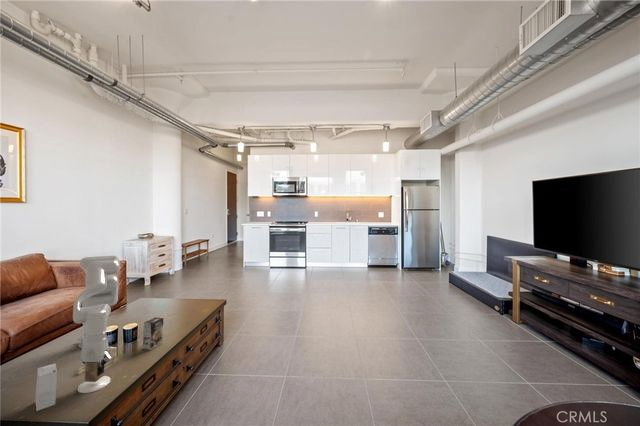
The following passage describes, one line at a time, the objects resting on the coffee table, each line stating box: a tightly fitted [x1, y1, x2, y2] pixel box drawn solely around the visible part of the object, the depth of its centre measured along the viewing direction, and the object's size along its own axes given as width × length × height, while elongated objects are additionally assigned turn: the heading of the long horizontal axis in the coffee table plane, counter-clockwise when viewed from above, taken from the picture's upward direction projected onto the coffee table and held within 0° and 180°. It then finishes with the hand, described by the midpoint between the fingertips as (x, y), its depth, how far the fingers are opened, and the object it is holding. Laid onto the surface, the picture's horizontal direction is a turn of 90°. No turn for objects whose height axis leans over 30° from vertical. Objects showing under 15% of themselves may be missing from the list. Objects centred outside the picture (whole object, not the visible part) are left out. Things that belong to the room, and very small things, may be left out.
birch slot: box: [77, 346, 118, 375], centre depth 142 cm, size 10×12×8 cm
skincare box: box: [34, 363, 59, 412], centre depth 115 cm, size 8×6×15 cm
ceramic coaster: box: [77, 375, 111, 394], centre depth 128 cm, size 12×12×1 cm
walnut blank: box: [84, 361, 105, 382], centre depth 128 cm, size 5×5×9 cm
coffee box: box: [142, 316, 164, 351], centre depth 166 cm, size 9×6×16 cm
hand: (94, 373), depth 128 cm, fingers closed on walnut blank, 5 cm apart
